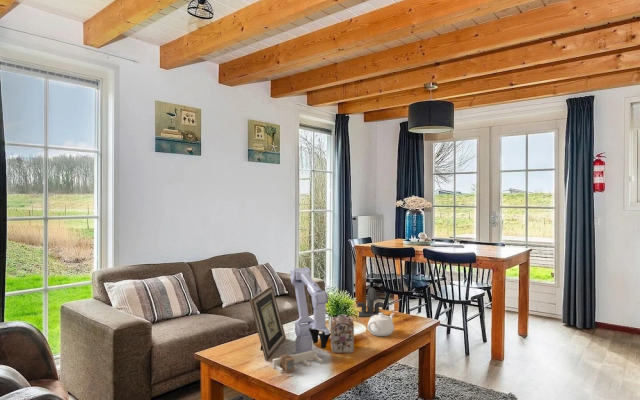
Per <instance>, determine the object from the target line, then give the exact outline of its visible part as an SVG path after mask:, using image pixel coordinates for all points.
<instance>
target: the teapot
mask: <svg viewBox="0 0 640 400" xmlns="http://www.w3.org/2000/svg"><path fill="white" fill-rule="evenodd" d="M383 314H384V313H383V312H382V313H379V315H373V316H371V317H369V320H368V322H367V327H366V328H367V330H368V332H369V333H370V334H371V335H373V336H376V337H387V336H390V335H391V334H392V333H393V332H394V330H395V327H394V326H395V325H394V322H393V319H394V318H393V317H394V315H395V312H392V313H391V314H390V315H387V314H386V315H385V314H384V315H383Z"/></svg>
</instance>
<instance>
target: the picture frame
mask: <svg viewBox="0 0 640 400" xmlns="http://www.w3.org/2000/svg"><path fill="white" fill-rule="evenodd" d="M249 302H250V308H251V310H252V311H251V312H252V315H253V319H254V323H255V327H256V330H257V334H258V338H259V342H260V350H262V353H263V357H264V360H265V361H267V360H269V359H270V358H271V356H272V355H273V354H274V353H275V352H276V350H277V349H278V348H279V347H280V346H281V345H282V344H283V343H284V341H285V340H286V339H287V338H286V337H287V336H286V333H285V329H284V326H283V325H284V324H283V321H282V319H281V313H280V310H279V306H278V303H277V299H276V295H275V290H274V289H273V285H270V286H268V287H267V288H265V289H264V290H262V291H260V292H258V294H256V295H255V296H253V297H252V298H250V299H249Z"/></svg>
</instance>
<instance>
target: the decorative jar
mask: <svg viewBox="0 0 640 400" xmlns="http://www.w3.org/2000/svg"><path fill="white" fill-rule="evenodd" d="M329 332H330V333H331V335H330V348H331V353H332V354H339V353H340V354H343V353H345V354H348V353H349V354H352V353H354V352H355V351H354V350H355V324H354V319H353V318H352V317H348V316H347V314H342V313H341V314H338V315H337V316H335V317H332V318H331V319H330V328H329Z"/></svg>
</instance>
